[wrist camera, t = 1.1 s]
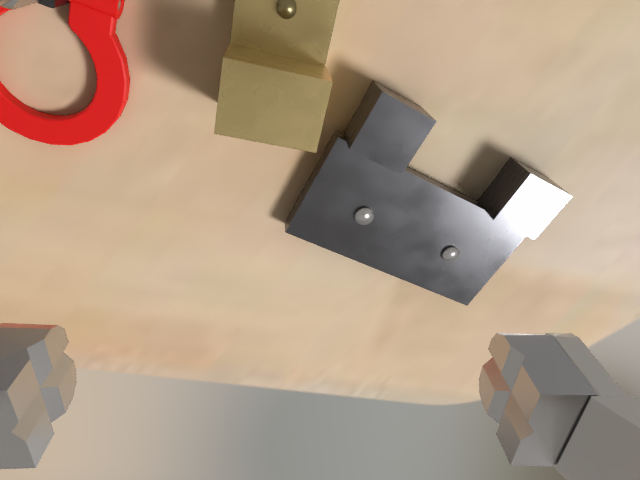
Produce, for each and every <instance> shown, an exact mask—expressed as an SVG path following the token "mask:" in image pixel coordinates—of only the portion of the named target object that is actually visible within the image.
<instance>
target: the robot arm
mask: <svg viewBox="0 0 640 480" xmlns="http://www.w3.org/2000/svg"><path fill="white" fill-rule="evenodd" d="M68 343H69V341H68V338H67V335H66V332H65V329H64V328H62V327H60V326H58V325H37V324H12V323H1V324H0V469H18V468H36V466H37V464H38V462H39V461H40V459H41V457H42V455H43V453H44V451H45V450H46V447H47V446H48V444H49V442H50V440H51V439H52V437H53V435H54V432H53V428H52V425H51V423H52V422H53V421H54V420H56V419H57V418H59V417H60V416H61V415H63V414H64V413H66V411H67V409H68V407H69V405H70V403H71V401H72V399H73V395H74V390H75V386H76V368H75V364H74V361H73V360H72V359H71V358H70V357H69V356H67V355H66V354H65V353H64V352H63V351H64V349H65V348H66V346H67V345H68ZM488 349H489V351H490V353H491V355H492V357H493V358H492V359H490V360H489V361H488V362H487V363H485V364H484V365H483V366H482V370H481V374H480V377H479V392H480V397H481V401H482V404H483V406H484V408H485V411H486V413H487V414H488V415H489V416H490V417H492V418H493V419H494V420H495V421H496V422H498V423H499V426H498V429H497V432H496V435H497V437H498V439H499V441H500V443H501V446H502V448H503V450H504V452H505V454H506V456H507V459H508V461H509V463H510V465H522V466H523V465H524V466H556V468H555V469H556V470H557V471H558V472H559V473H560V474H561V475H563V477H565V478H566V479H567V480H640V399H639V398H637V397H628V396H627V395H626V394H625V393H624V391H623V390H622V389H621V388H620V387H619V385H617V383H616V382H615V381H614V379H613V378H612V377H611V376H610V375H609V373H608V372H607V371H606V370H605V369H604V367H603V366H602V365H601V364H600V363H599V361H598V360H597V359H596V358H595V356H594V355H593V354H592V353H591V352H590V350H589V349H588V348H587V347H586V346H585V344H584V343H583V342H582V341H581V340H580V338H579V337H577V336H575V335H574V334H572V333H546V334H514V333H496V334H495V336H494V337H493V338H492V339H491V342H490V345H489V348H488Z"/></svg>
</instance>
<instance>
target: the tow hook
mask: <svg viewBox="0 0 640 480" xmlns="http://www.w3.org/2000/svg"><path fill="white" fill-rule="evenodd" d="M34 3H39V4H42V5H44V6H47V7H50V8H55V7H59V6H62V5H65V4H68V3H70V5H69V18H68V24H69V26H70V28H71V30H72V31H73V32H74V33H75V34H77V36H78V37H79V38H80V39H81V41H82V42H83V43H84V45H85V46H86V47H87V49H88V51H89V53H90V55H91V58H92V60H93V62H94V65H95V70H96V75H97V83H96V92H95V94H94V97H93V99H92V102H91V103H90V104H89V105H88V106H87V108H85V109H84V110H82V111H80V112H79V113H75V114H71V115H67V116H60V115H50V114H46V113H42V112H39V111H37V110H35V109H33V108H31V107H29V106H27V105H25V104H23V103H22V102H21V101H19V100H18V99H17V98H15V97H14V96H13V95H12V94H11V93H10V92H9V91H8V90H7V89H6V88H5V86H4V85H3V84H2V83H1V82H0V123H1V124H3V125H4V126H5V127H7V128H8V129H10V130H12V131H14V132H16V133H18V134H20V135H23V136H25V137H27V138H29V139H32V140H36V141H40V142H44V143H47V144H54V145H74V144H79V143H83V142H88V141H91V140H93V139H94V138H96V137H98V136H100V135H102V134H103V133H105V132H106V131H107V130H108V129H109V128H110V127H111V126H112V125H113V124H114V122H115V121H116V120H117V119H118V118H119V117H120V116H121V114H122V112H123V109H124V107H125V105H126V102H127V100H128V94H129V85H130V76H129V70H128V64H127V58H126V55H125V53H124V51H123V48H122V46H121V44H120V41H119V39H118V37H117V35H116V33H115V31H116V23H117V19H119V18H120V16H121V13H122V11H123V7H124V0H0V16H1V15H2V14H4V13H5V12H7V11H8V10H12V9H16V8H20V7H23V6H27V5H30V4H34Z"/></svg>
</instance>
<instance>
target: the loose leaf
mask: <svg viewBox="0 0 640 480" xmlns="http://www.w3.org/2000/svg"><path fill="white" fill-rule="evenodd" d="M338 5H339V0H235V4H234V13H233V21H232V30H231V38H230V44H229V46H228V48H227V50H226V52H225V54H224V56H223V60H222V69H221V78H220V87H219V96H218V104H217V113H216V122H215V131H214V134H218V135H224V136H229V137H234V138H239V139H245V140H250V141H255V142H261V143H266V144H271V145H277V146H282V147H287V148H293V149H298V150H303V151H308V152H314V153H316V152H317V148H318V143H319V139H320V135H321V131H322V126H323V122H324V118H325V114H326V109H327V105H328V101H329V97H330V92H331V88H332V84H333V81H332V79H331V77H330V75H329V73H328V71H327V69H326V67H325V63H326V58H327V54H328V49H329V45H330V40H331V36H332V31H333V27H334V22H335V18H336V13H337V9H338Z"/></svg>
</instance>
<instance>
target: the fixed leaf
mask: <svg viewBox="0 0 640 480" xmlns="http://www.w3.org/2000/svg"><path fill="white" fill-rule="evenodd" d="M435 123H436V120H435V119H433V118H432V117H431V116H430V115H429V114H428V113H427V112H426V111H425V110H424V109H423V108H422V107H420V106H418V105H416V104H415V103H413V102H411V101H409V100H407V99H406V98H404V97H402V96H400V95H398V94H397V93H395V92H393V91H391V90H389V89H388V88H386V87H384V86H382V85H380V84H379V83H377V82H375V81H373V82H372V84H371V85H370V87H369V89H368V91H367V92H366V94H365V96H364V98H363V100H362V101H361V103H360V105H359V107H358V108H357V110H356V112H355V114H354V116H353V117H352V119H351V121H350V123H349V125H348V126H347V128H346V130H345V132H344V133H343V134H342V133H340V132H338V131H335V133H334V135H333V137H332V139H331V140H330V142H329V144H328V146H327V148H326V149H325V151H324V153H323V155H322V157H321V158H320V160H319V162H318V164H317V166H316V168H315V169H314V171H313V173H312V175H311V177H310V178H309V180H308V182H307V184H306V186H305V188H304V189H303V191H302V193H301V195H300V197H299V198H298V200H297V202H296V204H295V206H294V208H293V209H292V211H291V213H290V215H289V217H288V218H287V220H286V222H285V232H286V233H289V234H291V235H293V236H296V237H298V238H301V239H303V240H306V241H308V242H311V243H313V244H316V245H318V246H321V247H323V248H326V249H328V250H331V251H333V252H336V253H338V254H341V255H343V256H346V257H348V258H351V259H353V260H355V261H358V262H360V263H363V264H365V265H368V266H370V267H373V268H375V269H378V270H380V271H383V272H385V273H388V274H390V275H393V276H395V277H398V278H400V279H403V280H405V281H408V282H410V283H412V284H415V285H417V286H420V287H422V288H425V289H427V290H430V291H432V292H435V293H437V294H440V295H442V296H445V297H447V298H450V299H452V300H455V301H457V302H460V303H462V304H465V305H468V304H469V303H470V302H471V300H472V299H473V298H474V297H475V296H476V295H477V293H478V292H479V291H480V290H481V289H482V288H483V286H484V285H485V284H486V283H487V282H488V280H489V279H490V278H491V277H492V276H493V275H494V273H495V272H496V271H497V270H498V269H499V268H500V266H501V265H502V264H503V263H504V262H505V261H506V259H507V258H508V257H509V256H510V255H511V254H512V252H513V251H514V250H515V249H516V248H517V246H518V245H519V244H520V243H521V242H522V241H523V239H524V238H525V237H529V238H531V239H533V240H535V239H536V238H537V237H538V236H539V234H540V233H541V232H542V231H543V230H544V229H545V228H546V226H547V225H548V224H549V223H550V222H551V221H552V220H553V218H554V217H555V216H556V215H557V214H558V213H559V211H560V210H561V209H562V208H563V207H564V206H565V205H566V203H567V202H568V201H569V200H570V199H571V198H572V196H571V195H570V194H569V193H567V192H566V191H565V190H564V189H562V188H561V187H560V186H558V185H557V184H556V183H555V182H553V181H552V180H551V179H549V178H547V177H546V176H544V175H542V174H540V173H538V172H537V171H535V170H533V169H531V168H529V167H528V166H526V165H524V164H522V163H520V162H519V161H517V160H515V159H513V158H510V160H509V161H508V162H507V164H506V165H505V166H504V167H503V169H502V170H501V171H500V173H499V174H498V175H497V177H496V178H495V179H494V181H493V182H492V183H491V185H490V186H489V187H488V188H487V190H486V191H485V192H484V194H483V195H482V196H481V198H480V199H479V200H478V202H477V201H475V200H473V199H471V198H469V197H467V196H465V195H463V194H461V193H459V192H457V191H455V190H453V189H451V188H449V187H447V186H445V185H443V184H441V183H439V182H437V181H435V180H433V179H431V178H429V177H427V176H425V175H423V174H421V173H419V172H417V171H415V170H413V169H411V168H409V167H407V166H408V164H409V163H410V161H411V160H412V158H413V156H414V155H415V153H416V152H417V150H418V149H419V147H420V146H421V144H422V143H423V141H424V140H425V138H426V137H427V135H428V134H429V132H430V130H431V129H432V127H433V126H434V124H435Z"/></svg>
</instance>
